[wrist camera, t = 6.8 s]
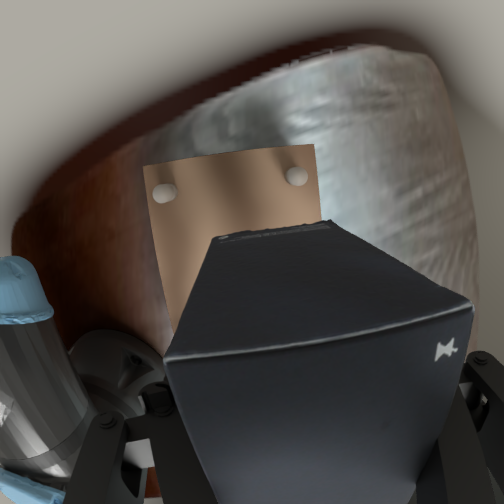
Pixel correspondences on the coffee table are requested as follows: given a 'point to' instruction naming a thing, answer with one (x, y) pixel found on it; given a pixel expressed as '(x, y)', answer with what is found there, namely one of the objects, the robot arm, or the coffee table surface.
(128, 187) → the coffee table surface
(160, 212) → the pegged wooden board
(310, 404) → the small box
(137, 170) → the coffee table surface
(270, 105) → the coffee table surface
